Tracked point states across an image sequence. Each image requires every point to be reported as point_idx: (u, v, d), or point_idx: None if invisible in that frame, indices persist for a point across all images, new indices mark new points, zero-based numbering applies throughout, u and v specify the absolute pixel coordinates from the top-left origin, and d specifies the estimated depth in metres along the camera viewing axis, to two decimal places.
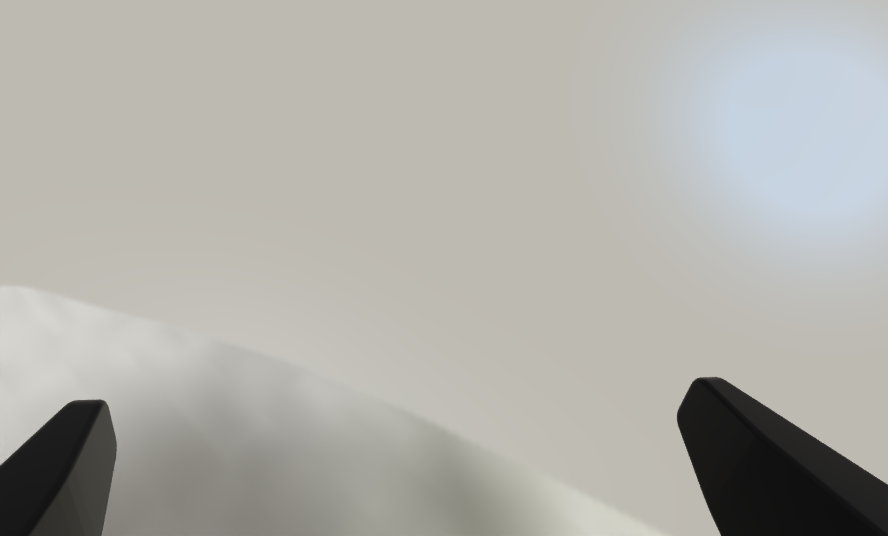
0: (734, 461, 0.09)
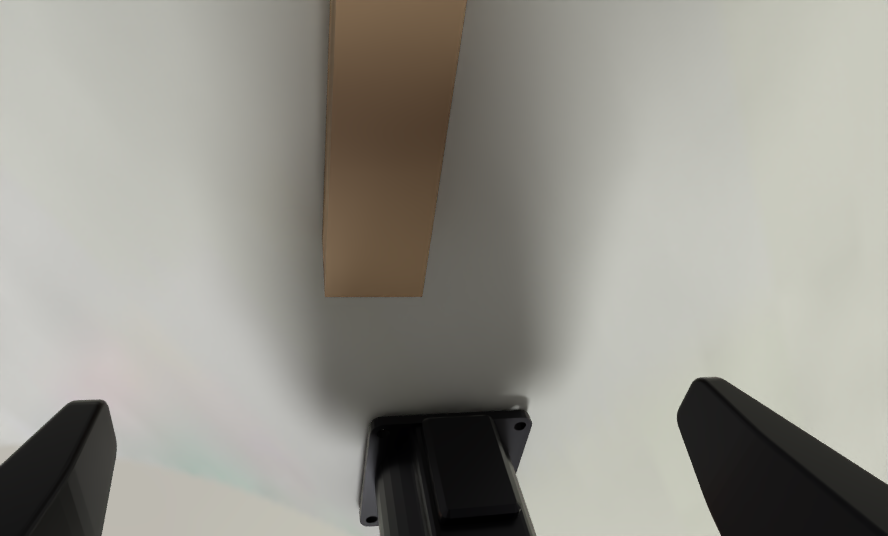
0: (734, 461, 0.09)
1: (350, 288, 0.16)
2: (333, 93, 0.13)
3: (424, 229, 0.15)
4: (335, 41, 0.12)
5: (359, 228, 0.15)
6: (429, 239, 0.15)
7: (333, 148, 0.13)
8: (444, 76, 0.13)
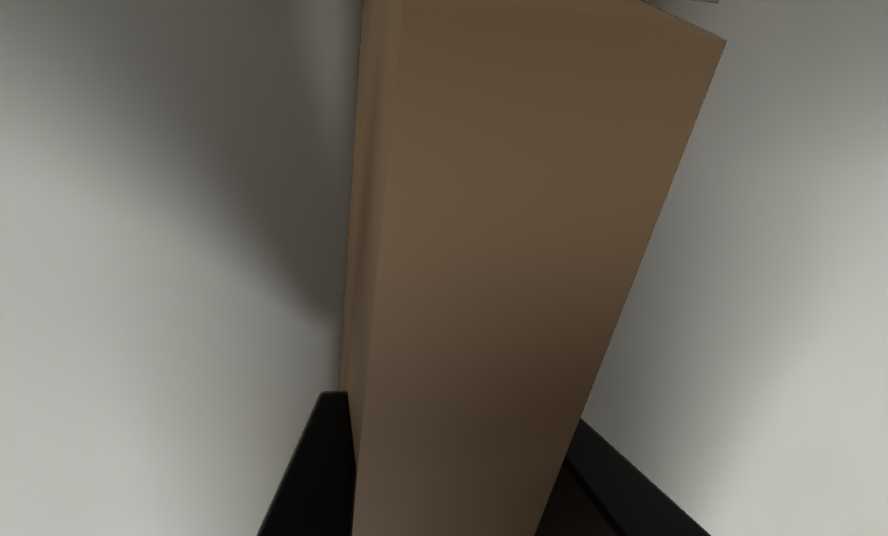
0: None
1: None
2: (368, 375, 0.06)
3: None
4: (376, 291, 0.06)
5: None
6: None
7: (364, 455, 0.07)
8: (593, 331, 0.06)
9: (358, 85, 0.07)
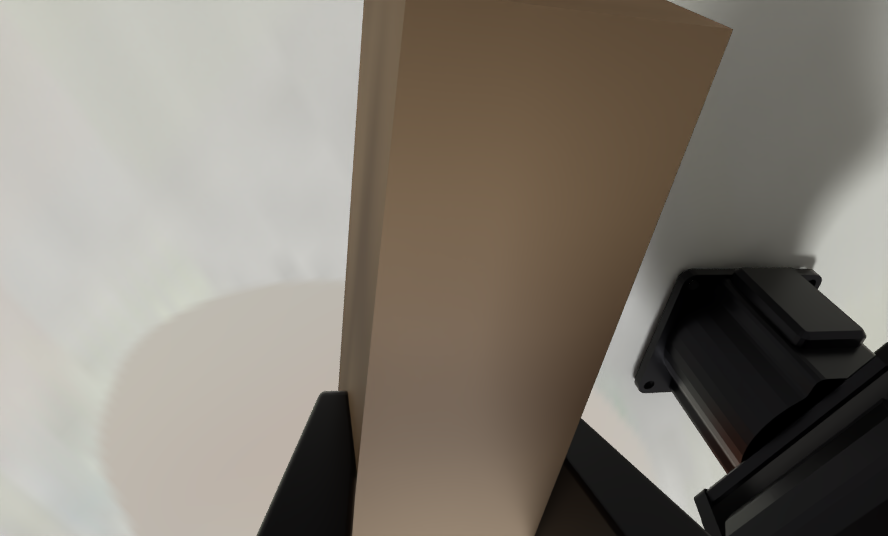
0: None
1: None
2: (369, 369, 0.06)
3: None
4: (378, 284, 0.05)
5: None
6: None
7: (365, 450, 0.07)
8: (596, 325, 0.06)
9: (359, 78, 0.07)
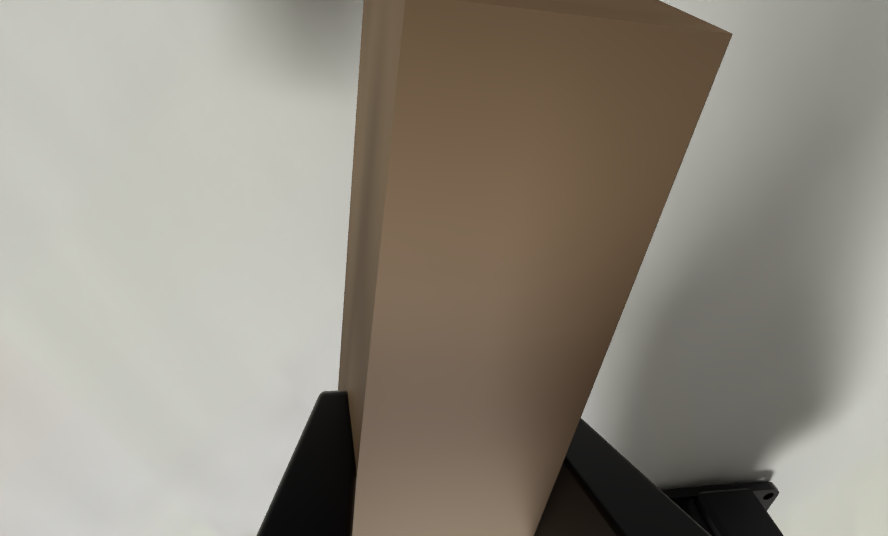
0: None
1: None
2: (369, 372, 0.06)
3: None
4: (377, 287, 0.05)
5: None
6: None
7: (365, 453, 0.07)
8: (595, 327, 0.06)
9: (359, 80, 0.07)
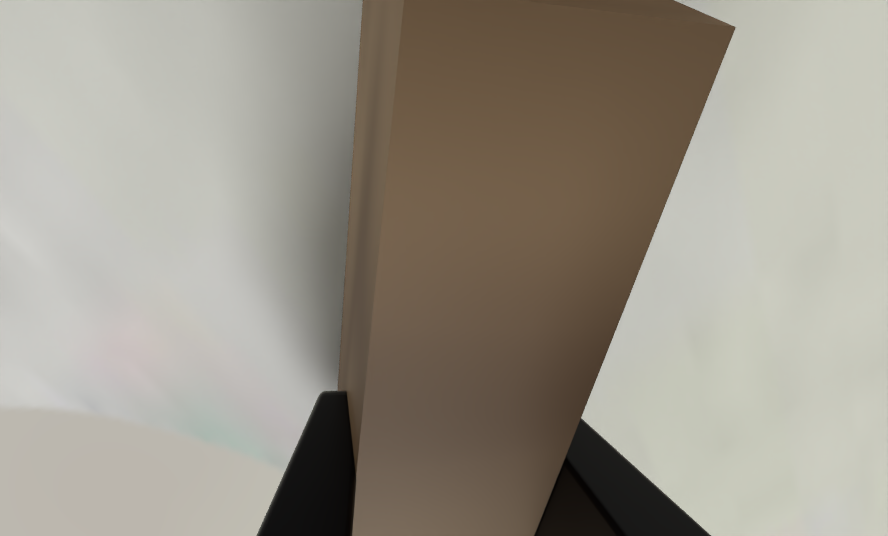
0: None
1: None
2: (368, 369, 0.06)
3: None
4: (377, 284, 0.05)
5: None
6: None
7: (364, 450, 0.07)
8: (597, 325, 0.06)
9: (358, 76, 0.07)
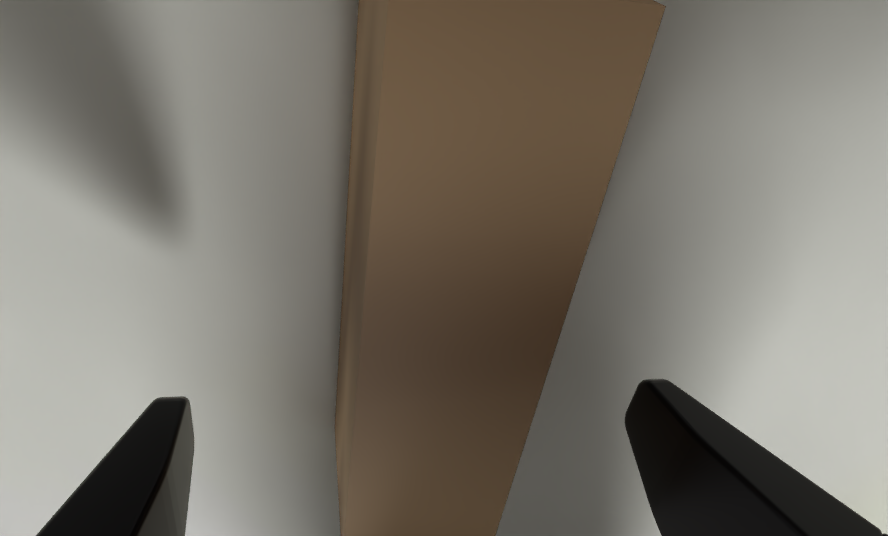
0: (675, 465, 0.09)
1: None
2: (364, 307, 0.07)
3: (503, 472, 0.09)
4: (371, 228, 0.06)
5: (400, 481, 0.09)
6: (509, 483, 0.10)
7: (362, 384, 0.08)
8: (562, 269, 0.07)
9: None
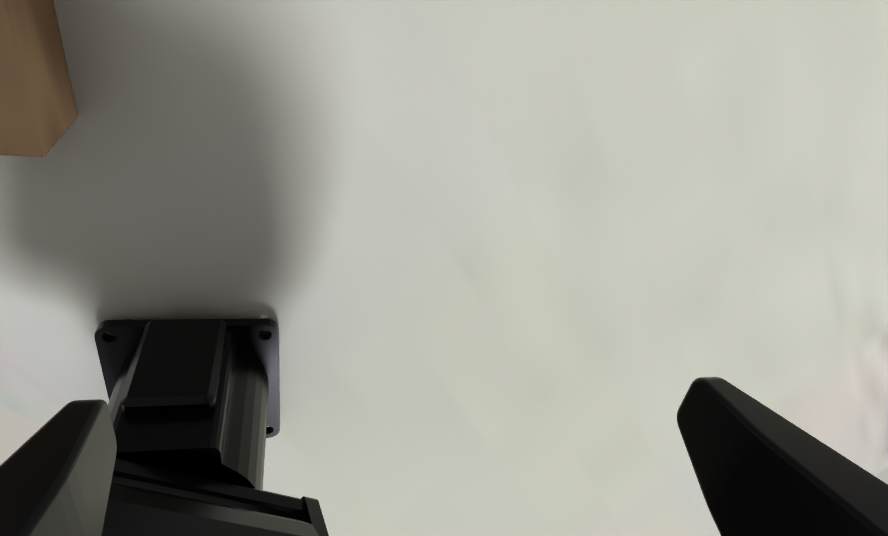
0: (734, 461, 0.09)
1: None
2: None
3: (14, 75, 0.15)
4: None
5: None
6: (24, 88, 0.15)
7: None
8: None
9: None
